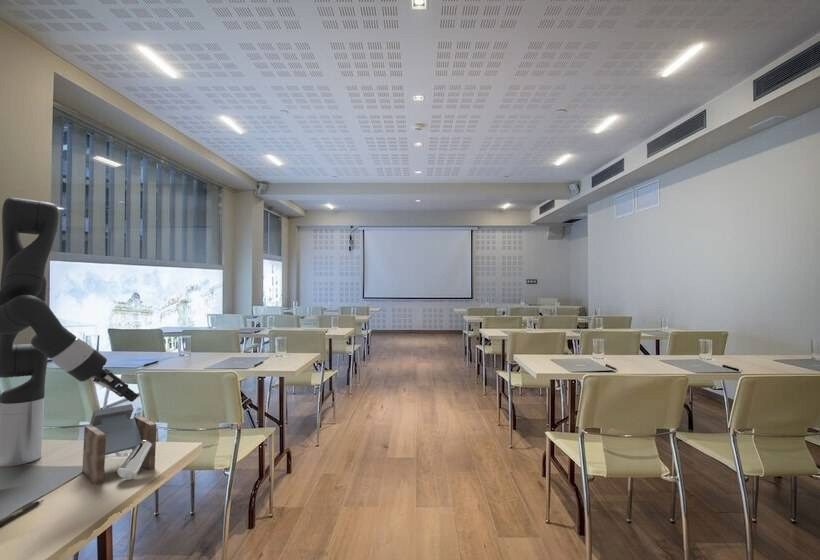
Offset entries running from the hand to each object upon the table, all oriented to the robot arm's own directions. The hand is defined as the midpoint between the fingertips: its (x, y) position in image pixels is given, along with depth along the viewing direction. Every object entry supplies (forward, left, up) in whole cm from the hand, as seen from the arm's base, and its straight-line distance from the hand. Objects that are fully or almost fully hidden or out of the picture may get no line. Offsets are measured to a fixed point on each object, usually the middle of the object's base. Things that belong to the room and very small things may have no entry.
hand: (129, 396), depth 110 cm
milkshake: (+6, +3, -12) cm, 14 cm away
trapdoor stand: (-1, -1, -20) cm, 20 cm away
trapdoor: (-7, -1, -13) cm, 15 cm away
